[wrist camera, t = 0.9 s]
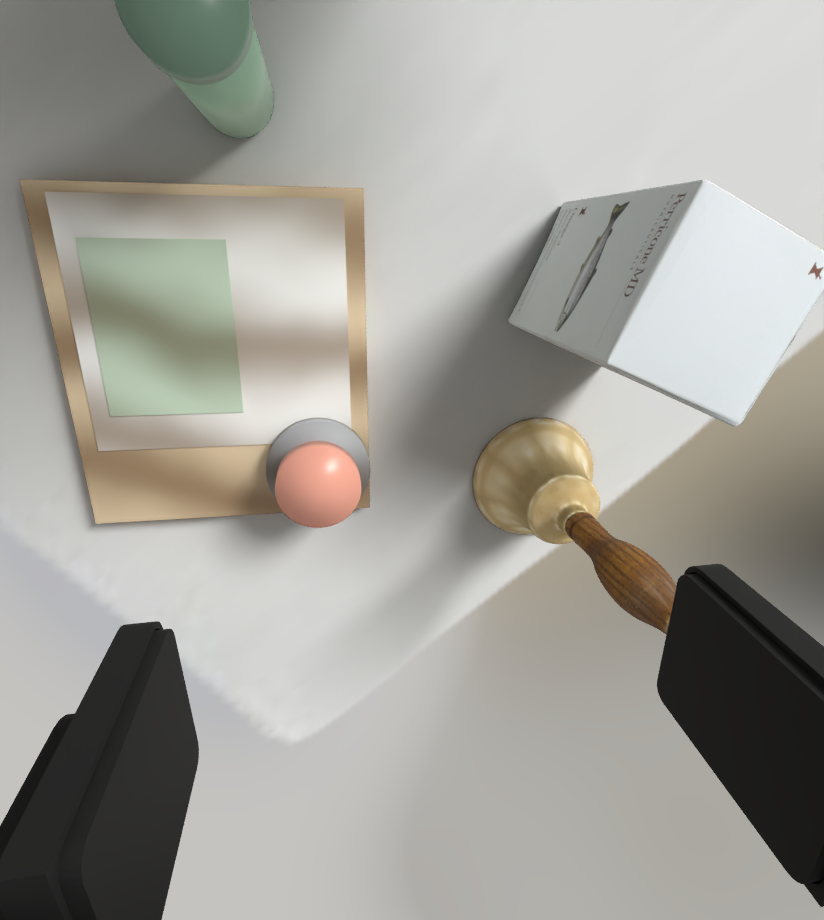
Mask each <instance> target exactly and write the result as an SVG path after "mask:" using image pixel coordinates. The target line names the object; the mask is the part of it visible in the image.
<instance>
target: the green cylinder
mask: <svg viewBox="0 0 824 920" xmlns="http://www.w3.org/2000/svg"><path fill="white" fill-rule="evenodd" d="M115 4H116V7H117V10H118V13H119V16H120V18H121V20H122V23H123V25H124V26H125V28H126V30H127V32H128V33H129V35H130V36H131V38H132V39H133V40H134V42H135V43H136V44H137V45H138V46H139V48H140V49H141V50H142V51H143V52H144V53H145V54H146V55H147V57H148V58H149V59H150V60H151V61H152V62H153V63H154V64H155V65H156V66H157V67H158V68H159V69H161V70H162V71H163V72H165V73H166V74H168V76H169V77H170V78H171V79H172V80H173V81H174V82H175V84H176V85H177V86H178V87H179V88H180V89H181V90H182V91H183V93H184V94H185V95H186V96H187V97H188V98H189V99H190V101H191V102H192V103H193V104H194V105H195V106H196V107H197V109H198V110H199V111H200V112H201V113H202V114H203V115H204V117H205V118H206V119H207V120H208V121H209V122H210V123H211V124H212V125H213V126H214V127H215V128H216V129H217V130H219V131H220V132H222V133H224V134H226V135H228V136H231V137H236V138H246V137H250V136H253V135H255V134H257V133H259V132H260V131H261V130H262V129H263V128H264V127H265V126H266V125H267V123H268V122H269V120H270V118H271V115H272V112H273V107H274V94H273V89H272V85H271V81H270V78H269V75H268V71H267V68H266V65H265V61H264V58H263V55H262V51H261V48H260V45H259V41H258V38H257V35H256V31H255V28H254V25H253V16H252V9H251V5H250V0H115Z"/></svg>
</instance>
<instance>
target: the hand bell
mask: <svg viewBox="0 0 824 920" xmlns="http://www.w3.org/2000/svg"><path fill="white" fill-rule="evenodd" d="M592 479H593V459H592V455H591V452H590V449H589V447H588V444H587V443H586V441H585V439H584V438H583V437H582V436H581V434H580V433H579V432H578V431H576V430H575V429H574V428H572V427H571V426H569V425H567V424H566V423H564V422H561V421H558V420H554V419H550V418H534V419H528V420H524V421H521V422H518V423H515V424H513V425H511V426H509V427H508V428H506V429H504V430H503V431H501V432H500V433H499V434H498V435H496V436H495V437H494V438H493V439H492V440H491V441H490V442H489V444H488V445H487V446H486V447H485V449H484V450H483V452H482V454H481V455H480V457H479V459H478V462H477V464H476V467H475V472H474V476H473V491H474V496H475V500H476V503H477V505H478V507H479V509H480V511H481V512H482V514H483V515H484V516H485V518H486V519H487V520H488V521H490V522H491V523H492V524H494V525H495V526H497V527H498V528H500V529H502V530H505V531H508V532H512V533H517V534H535V535H536V536H537V537H538V538H540V539H541V540H543V541H545V542H548V543H552V544H566V543H570V542H573V541H575V543H576V544H578V545H579V546H580V547H581V548H582V549H583V550H584V551H585V552H586V553H587V554H588V555H589V556H590V558H591V559H592V561H593V564H594V567H595V570H596V573H597V575H598V577H599V579H600V581H601V583H602V585H603V586H604V587H605V589H606V590H607V592H608V593H609V594H610V596H611V597H612V598H613V599H614V600H615V602H617V604H619V605H620V607H622V608H623V609H624V610H625V611H627V612H628V613H629V614H631V615H632V616H633V617H635V618H637V619H639V620H641V621H643V622H645V623H647V624H649V625H651V626H653V627H655V628H657V629H659V630H661V631H662V632H664V633H665V634H667V631H668V626H669V621H670V616H671V611H672V606H673V601H674V596H675V591H676V587H677V586H676V584H675V582H674V581H673V579H672V578H671V577H670V575H669V574H668V573H667V572H666V570H665V569H664V568H663V567H662V566H661V565H660V564H659V563H658V562H657V561H656V560H654V559H653V558H652V557H650V556H649V555H648V554H647V553H645V552H644V551H642V550H641V549H639V548H637V547H635V546H634V545H631V544H629V543H627V542H624V541H621V540H618V539H616V538H614V537H613V536H611V535H610V534H609V533H608V532H607V531H606V530H605V529H604V528H603V527H602V526H601V525H600V524H599V522H597V521H596V520H597V518H598V515H599V511H600V498H599V495H598V492H597V490H596V488H595V486H594V485H593V484H592Z"/></svg>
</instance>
